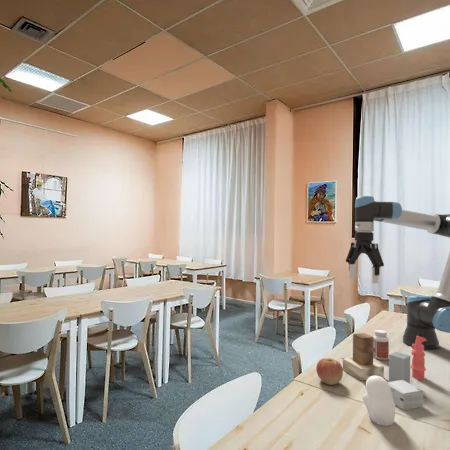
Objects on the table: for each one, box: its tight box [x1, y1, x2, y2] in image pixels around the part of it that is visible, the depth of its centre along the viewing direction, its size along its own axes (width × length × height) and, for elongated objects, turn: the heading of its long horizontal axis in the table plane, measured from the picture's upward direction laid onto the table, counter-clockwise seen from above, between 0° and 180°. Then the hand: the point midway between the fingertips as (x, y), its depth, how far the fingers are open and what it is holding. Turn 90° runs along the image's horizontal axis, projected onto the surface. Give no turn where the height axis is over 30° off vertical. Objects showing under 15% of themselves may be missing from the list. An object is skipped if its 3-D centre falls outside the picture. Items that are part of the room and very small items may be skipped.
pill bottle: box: [372, 329, 390, 361], centre depth 141 cm, size 6×6×11 cm
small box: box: [387, 380, 424, 411], centre depth 104 cm, size 8×8×5 cm
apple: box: [316, 358, 344, 386], centre depth 116 cm, size 9×9×8 cm
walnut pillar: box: [352, 332, 374, 366], centre depth 125 cm, size 5×5×10 cm
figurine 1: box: [362, 376, 396, 427], centre depth 93 cm, size 7×8×12 cm
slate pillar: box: [388, 351, 411, 384], centre depth 116 cm, size 5×5×10 cm
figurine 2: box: [410, 336, 427, 381], centre depth 123 cm, size 5×5×15 cm
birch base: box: [342, 357, 385, 381], centre depth 125 cm, size 10×10×4 cm
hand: (363, 280), depth 145 cm, fingers open, 13 cm apart
